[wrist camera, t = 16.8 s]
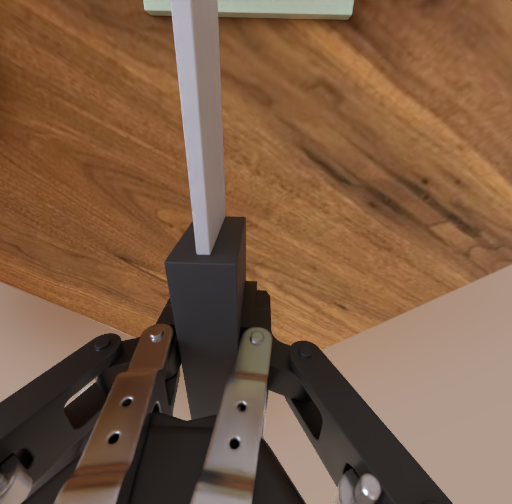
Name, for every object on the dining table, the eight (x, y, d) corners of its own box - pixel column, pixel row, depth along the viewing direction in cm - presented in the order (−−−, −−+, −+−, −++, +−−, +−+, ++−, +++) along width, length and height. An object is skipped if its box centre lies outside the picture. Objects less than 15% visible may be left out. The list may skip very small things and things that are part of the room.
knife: (245, -159, 7) (222, -516, 3) (245, 348, 16) (240, 423, 12) (160, -159, 7) (28, -512, 3) (208, 347, 16) (191, 420, 12)
